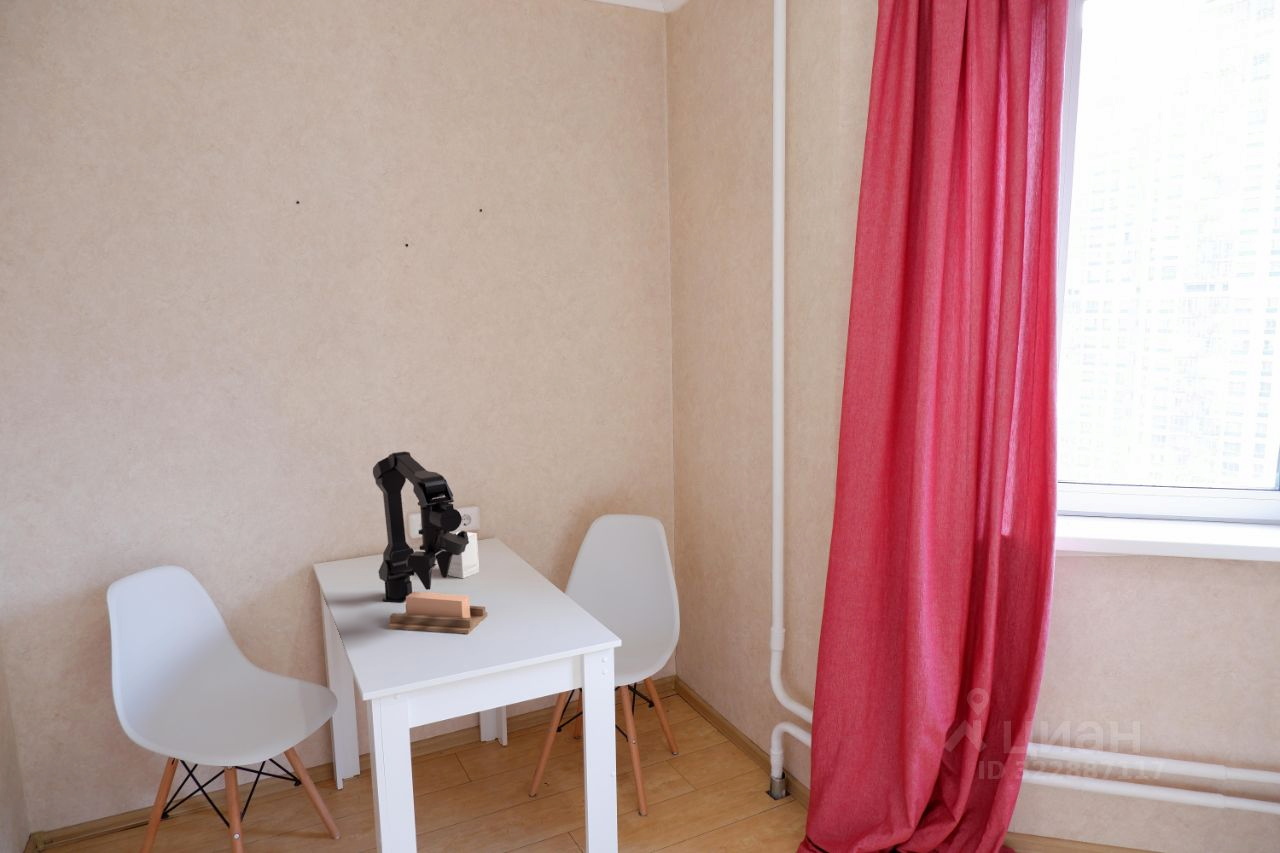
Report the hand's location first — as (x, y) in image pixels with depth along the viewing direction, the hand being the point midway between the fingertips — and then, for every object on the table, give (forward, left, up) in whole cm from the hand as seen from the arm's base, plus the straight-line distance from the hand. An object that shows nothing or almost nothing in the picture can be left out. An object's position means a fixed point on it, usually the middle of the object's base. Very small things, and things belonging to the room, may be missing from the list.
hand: (436, 583), depth 195 cm
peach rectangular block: (0, 0, -10) cm, 10 cm away
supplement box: (-11, +38, -11) cm, 41 cm away
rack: (0, 0, -11) cm, 11 cm away
